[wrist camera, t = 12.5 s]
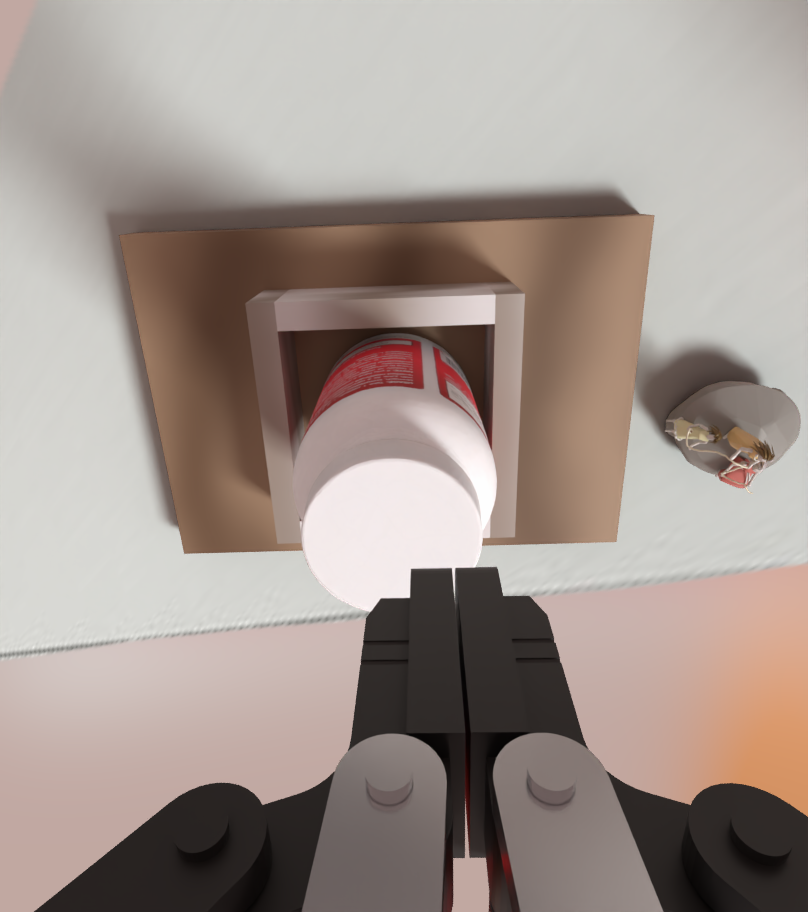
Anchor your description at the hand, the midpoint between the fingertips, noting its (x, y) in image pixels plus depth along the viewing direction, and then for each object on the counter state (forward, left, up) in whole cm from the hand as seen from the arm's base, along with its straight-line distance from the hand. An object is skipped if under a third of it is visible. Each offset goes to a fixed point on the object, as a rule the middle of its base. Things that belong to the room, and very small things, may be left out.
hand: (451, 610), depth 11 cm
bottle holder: (+1, +1, -17) cm, 17 cm away
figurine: (-13, +3, -18) cm, 22 cm away
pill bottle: (+1, +1, -16) cm, 16 cm away
